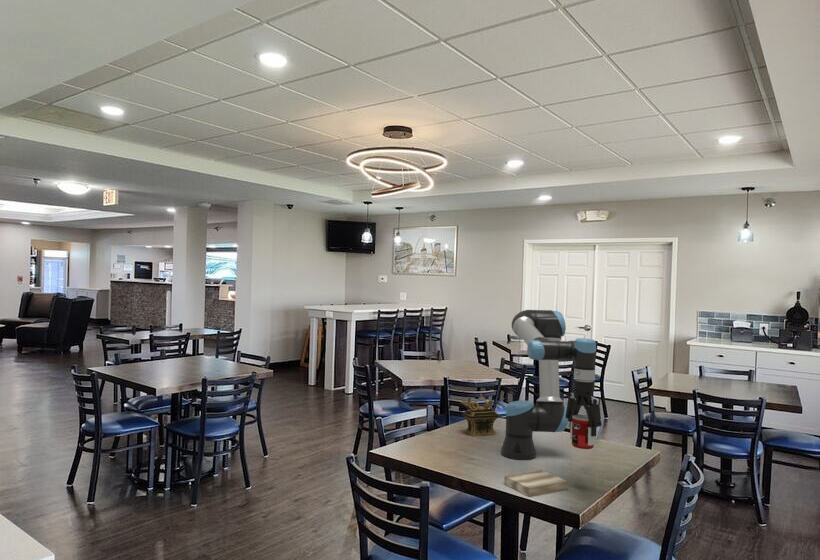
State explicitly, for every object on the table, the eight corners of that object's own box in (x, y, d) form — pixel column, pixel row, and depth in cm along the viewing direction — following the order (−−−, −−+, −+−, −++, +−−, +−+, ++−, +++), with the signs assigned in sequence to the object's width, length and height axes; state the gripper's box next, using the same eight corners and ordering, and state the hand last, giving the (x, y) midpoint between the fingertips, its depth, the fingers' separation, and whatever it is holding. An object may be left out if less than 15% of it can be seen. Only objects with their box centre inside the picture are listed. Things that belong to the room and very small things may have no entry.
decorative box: (489, 430, 289) (491, 392, 289) (499, 435, 280) (500, 395, 280) (455, 432, 281) (456, 393, 282) (463, 437, 272) (465, 397, 273)
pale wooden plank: (504, 484, 208) (504, 476, 208) (540, 477, 217) (540, 469, 217) (529, 496, 195) (530, 488, 196) (567, 489, 204) (567, 481, 204)
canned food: (571, 442, 212) (572, 413, 212) (593, 445, 209) (594, 415, 210) (571, 447, 204) (572, 417, 205) (594, 450, 202) (595, 420, 202)
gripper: (556, 376, 214) (554, 435, 214) (599, 385, 196) (597, 450, 196) (570, 375, 218) (568, 433, 218) (613, 384, 200) (611, 448, 200)
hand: (582, 441), depth 207 cm, fingers closed on canned food, 8 cm apart
